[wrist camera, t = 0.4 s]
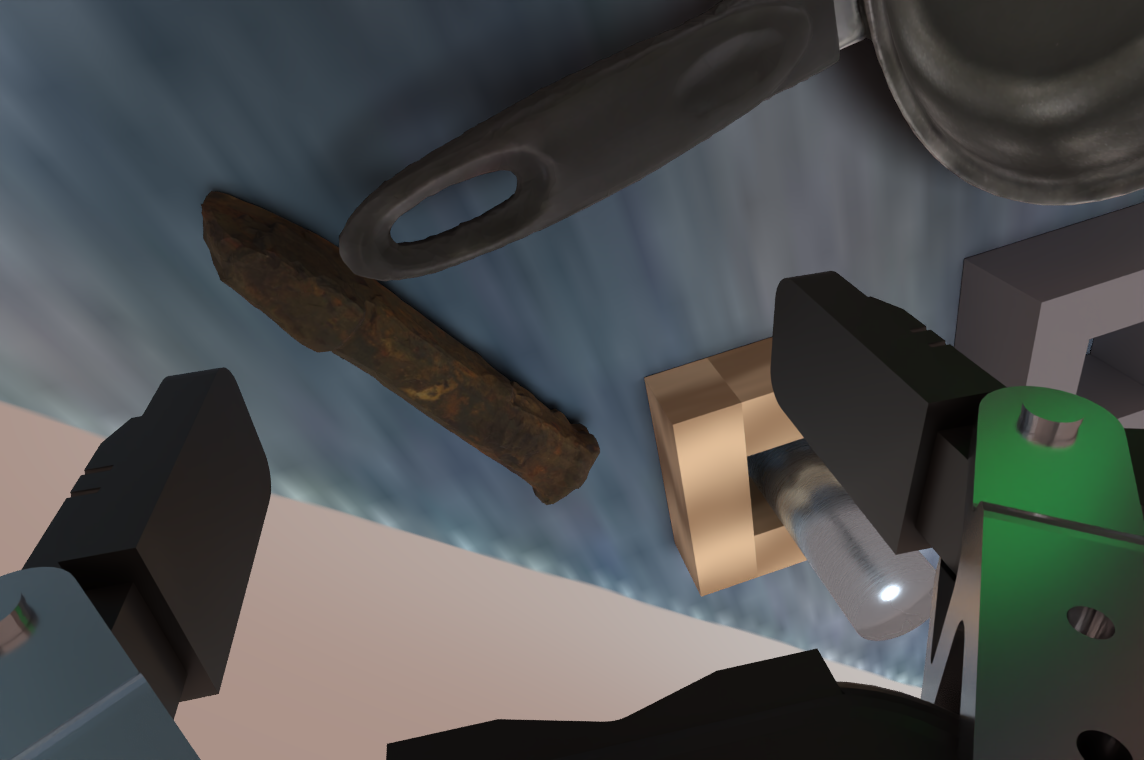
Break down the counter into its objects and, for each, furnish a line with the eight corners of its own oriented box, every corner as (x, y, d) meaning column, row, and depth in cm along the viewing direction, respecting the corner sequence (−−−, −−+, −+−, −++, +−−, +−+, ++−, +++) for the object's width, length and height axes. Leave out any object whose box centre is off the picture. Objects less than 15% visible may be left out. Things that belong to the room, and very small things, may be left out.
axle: (727, 416, 38) (855, 591, 28) (799, 392, 38) (950, 558, 28) (733, 471, 40) (853, 652, 30) (801, 449, 40) (941, 621, 30)
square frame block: (644, 377, 35) (672, 424, 32) (871, 305, 36) (921, 344, 33) (674, 543, 42) (701, 596, 38) (865, 479, 43) (906, 525, 39)
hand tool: (590, 418, 36) (616, 476, 32) (531, 467, 37) (550, 530, 33) (264, 134, 26) (246, 169, 22) (193, 211, 27) (163, 258, 23)
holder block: (964, 259, 36) (1041, 302, 32) (1178, 191, 37) (1280, 225, 33) (943, 440, 42) (1005, 496, 38) (1124, 380, 43) (1203, 427, 39)
